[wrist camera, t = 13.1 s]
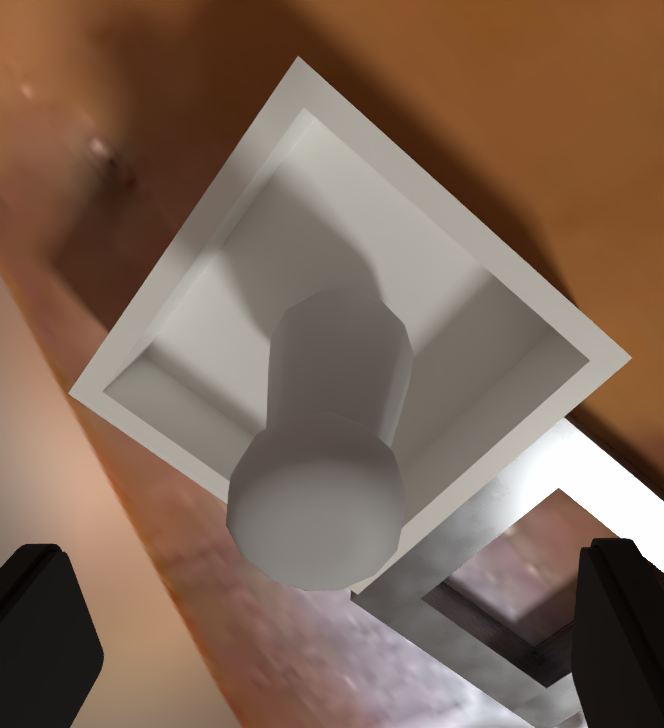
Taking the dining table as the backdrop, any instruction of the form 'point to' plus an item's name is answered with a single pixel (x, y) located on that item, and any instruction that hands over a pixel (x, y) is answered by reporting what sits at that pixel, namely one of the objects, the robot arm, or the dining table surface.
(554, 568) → the dining table surface
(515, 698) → the collar block
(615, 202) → the dining table surface
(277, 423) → the salt shaker
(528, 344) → the bin
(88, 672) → the robot arm
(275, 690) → the dining table surface
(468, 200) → the dining table surface
